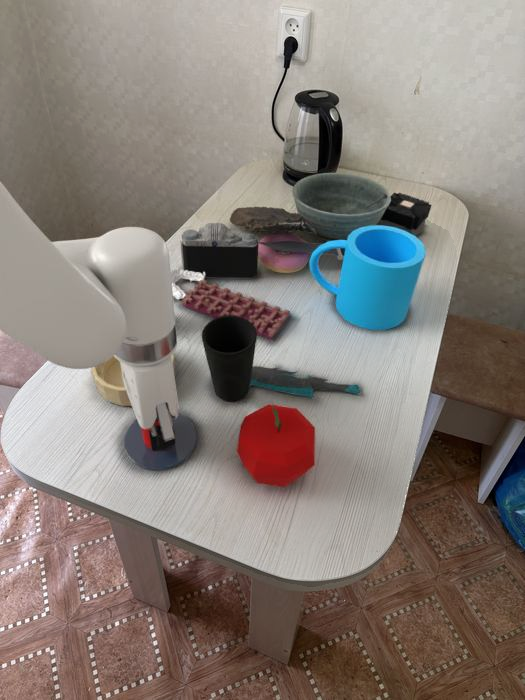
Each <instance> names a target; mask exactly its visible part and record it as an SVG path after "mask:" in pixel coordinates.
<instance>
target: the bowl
mask: <svg viewBox="0 0 525 700" xmlns="http://www.w3.org/2000/svg"><path fill="white" fill-rule="evenodd" d="M291 193H292V197H293V199H294V204H295V207H296V211H297V212H296V213H299V214H301V216H303V217H304V218H305V219H307V220H308V222H309V223H311V224H312V227H313V228H315V231H316V233H315V234H316V235H317V236H318V237H319V238H320V239H322V240H324V241H327V242H329V241H334V240H347V238H348V236H349V235H350V234H351V233H352V231H354V230H356V229H358V228H360V227H365V226H371V225H377V224H379V220H380V219H381V218H382V216H383V214H384V212H385V210H386V208H387V207H388V206H389V204H390V202H391V193H390V191H389V189H387V188H386V187H385V185H383V184H382V183H380V182H379V181H376V180H374V179H372V178H369V177H366V176H363V175H359V174H353V173H345V172H323V173H316V174H312V175H308V176H306V177H304V178H301V179H300V180H298V181H297V182H296V183H294V185H293V186H292V190H291ZM384 194H387V195H388V198H387V199H385V198H384V199H382V200H380V201H378V202H377V203H375V204H373V205H372V206H370V207H368V208H366V209H364V208H365V207H367V206H368V205H370V204H372V203H374V202H375V201H377V200H379V199H380V198H382V197H383V195H384Z"/></svg>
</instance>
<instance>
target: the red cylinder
mask: <svg viewBox="0 0 525 700" xmlns="http://www.w3.org/2000/svg"><path fill="white" fill-rule="evenodd" d="M171 417H172V416H171ZM156 425H159V420H158V421H155V426H156ZM141 429H142V434H143V439H144V443H145V445H146V446H147V447H148V448H150V449H152V448H151V443H150V437H149V430H151V429H150V428H148V429H143V428H141ZM159 450H162V449H159Z"/></svg>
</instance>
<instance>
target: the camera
mask: <svg viewBox="0 0 525 700" xmlns="http://www.w3.org/2000/svg"><path fill="white" fill-rule="evenodd" d="M179 242H180V243H179V244H180V256H181V267H182V269H183V270H184V271H185V270H188V271H189V272H190V271H193V272H200V273H202V274H204V273H203V272H205V275H206V276H205V277H204V279H247V280H253V279H254V278H256V277H257V275H258V266H259V257H258V246H259V243H258V242H259V240H258V237H257V235H255V234H253V233H244V234H243V235H242V232H239V231H238V232H237V231H232V229H231V228H229V227H228V226H227V225H226V224H224V223H222V222H207V223H206V224H204V225H203V226H202V227H200V228H199V230H198V231H197V230H195V229H191V228H190V229H186V230H184V231H183V232H182V234H181V240H180V241H179ZM182 269H181V270H182Z"/></svg>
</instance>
